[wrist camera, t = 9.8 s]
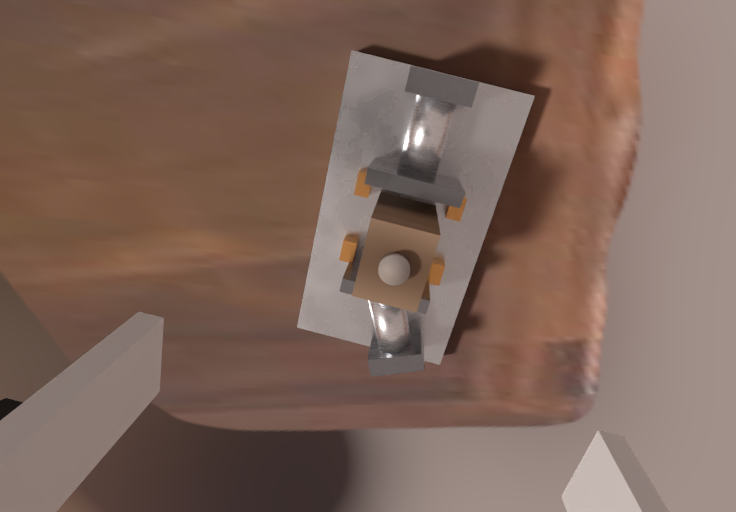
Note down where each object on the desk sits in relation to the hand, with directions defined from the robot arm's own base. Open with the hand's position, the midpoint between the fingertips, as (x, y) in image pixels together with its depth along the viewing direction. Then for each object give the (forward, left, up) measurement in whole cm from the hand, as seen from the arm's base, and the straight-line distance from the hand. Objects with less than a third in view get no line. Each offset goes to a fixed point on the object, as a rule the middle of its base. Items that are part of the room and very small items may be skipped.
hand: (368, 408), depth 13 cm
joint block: (+1, 0, -20) cm, 20 cm away
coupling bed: (0, 0, -21) cm, 21 cm away
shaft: (+7, -2, -20) cm, 21 cm away
